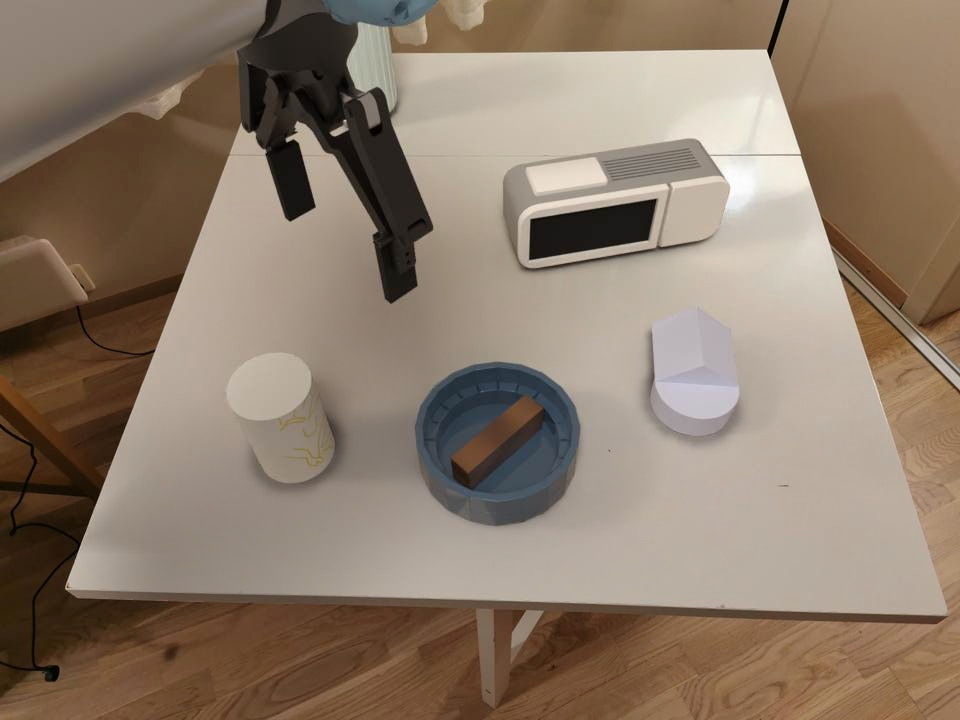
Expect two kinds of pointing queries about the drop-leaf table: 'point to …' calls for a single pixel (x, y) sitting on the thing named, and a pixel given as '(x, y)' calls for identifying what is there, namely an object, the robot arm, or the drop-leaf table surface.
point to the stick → (497, 442)
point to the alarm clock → (613, 202)
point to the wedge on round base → (693, 373)
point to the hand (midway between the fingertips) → (348, 250)
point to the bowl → (524, 475)
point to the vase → (373, 62)
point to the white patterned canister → (282, 416)
